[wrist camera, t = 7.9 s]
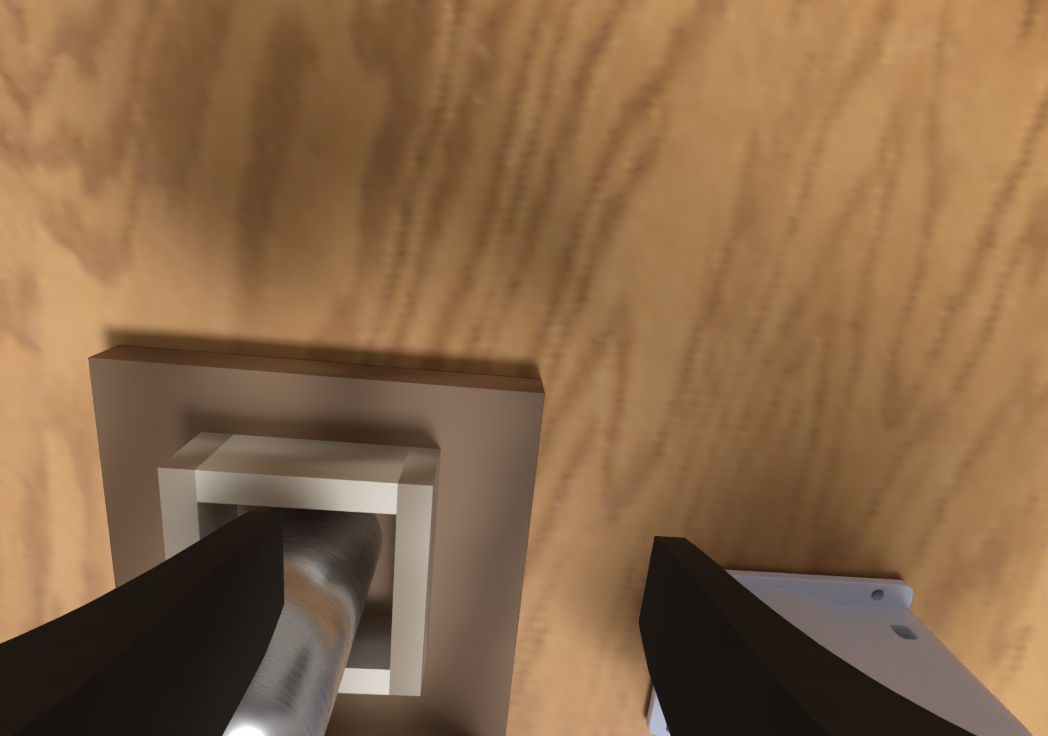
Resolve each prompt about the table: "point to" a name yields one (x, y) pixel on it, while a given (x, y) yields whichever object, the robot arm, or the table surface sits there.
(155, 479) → the socket stand
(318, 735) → the steel peg
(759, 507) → the table surface
